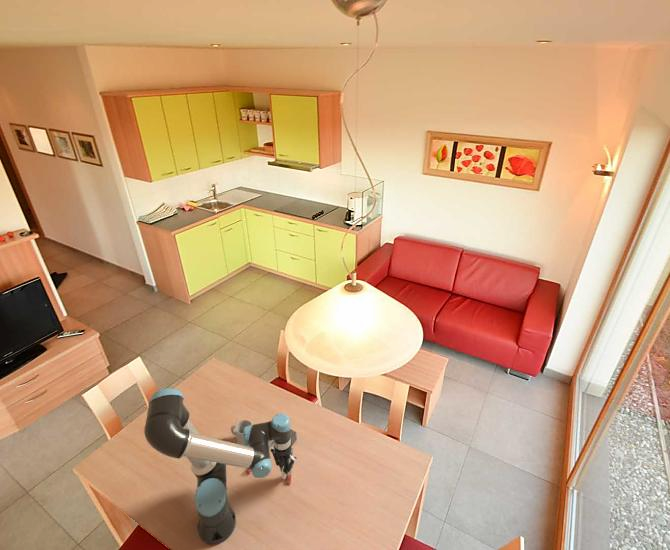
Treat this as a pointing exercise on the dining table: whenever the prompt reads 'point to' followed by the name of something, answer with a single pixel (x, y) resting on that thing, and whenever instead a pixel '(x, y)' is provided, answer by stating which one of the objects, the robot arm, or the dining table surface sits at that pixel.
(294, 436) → the grey rectangular block
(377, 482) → the dining table surface
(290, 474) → the red-tipped stick
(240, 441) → the mug
